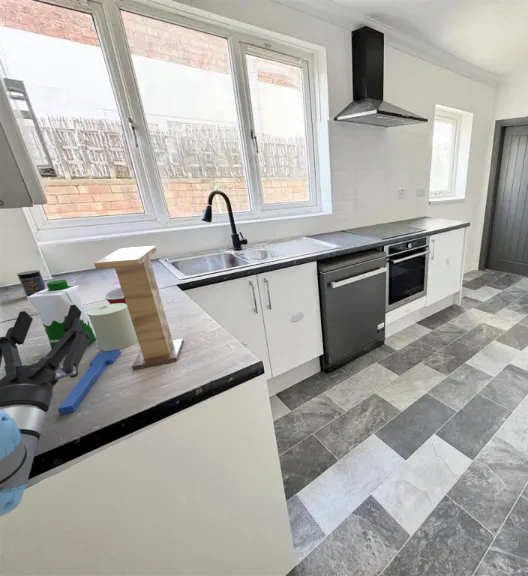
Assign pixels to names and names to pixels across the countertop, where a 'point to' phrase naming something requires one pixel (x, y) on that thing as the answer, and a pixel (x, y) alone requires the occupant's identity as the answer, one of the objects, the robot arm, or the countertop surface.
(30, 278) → the supplement container
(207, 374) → the countertop surface
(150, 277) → the stand
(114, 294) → the plastic cup
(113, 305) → the can
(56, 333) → the milk carton
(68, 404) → the blue long flat bar
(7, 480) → the robot arm
